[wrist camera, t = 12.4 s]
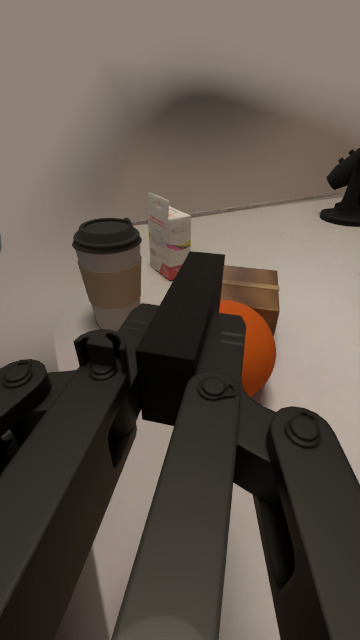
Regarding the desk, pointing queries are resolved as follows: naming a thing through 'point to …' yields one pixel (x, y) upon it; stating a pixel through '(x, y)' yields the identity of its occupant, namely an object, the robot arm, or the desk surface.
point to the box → (253, 291)
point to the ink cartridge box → (167, 236)
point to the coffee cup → (110, 268)
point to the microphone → (356, 202)
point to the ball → (253, 346)
